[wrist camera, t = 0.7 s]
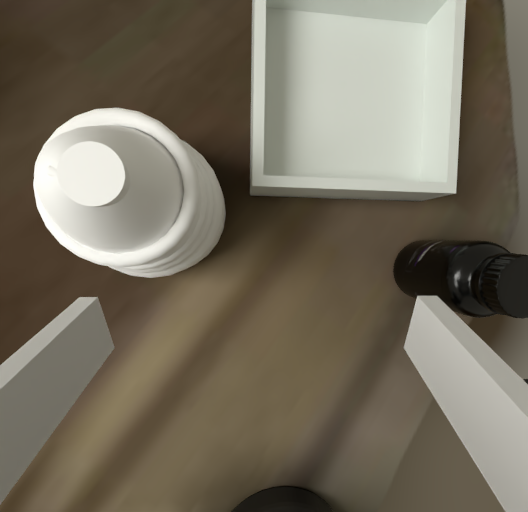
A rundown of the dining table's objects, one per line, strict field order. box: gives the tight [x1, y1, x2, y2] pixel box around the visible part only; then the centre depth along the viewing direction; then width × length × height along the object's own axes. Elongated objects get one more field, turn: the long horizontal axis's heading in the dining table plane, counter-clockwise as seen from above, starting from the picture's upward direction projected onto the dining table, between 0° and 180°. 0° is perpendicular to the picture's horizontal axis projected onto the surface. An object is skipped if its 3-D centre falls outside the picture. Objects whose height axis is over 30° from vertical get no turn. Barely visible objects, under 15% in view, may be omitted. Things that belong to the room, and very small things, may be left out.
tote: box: [250, 0, 466, 201], centre depth 27 cm, size 20×20×5 cm
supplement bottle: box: [393, 240, 528, 318], centre depth 25 cm, size 7×7×12 cm
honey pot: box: [33, 108, 226, 278], centre depth 19 cm, size 13×13×18 cm
